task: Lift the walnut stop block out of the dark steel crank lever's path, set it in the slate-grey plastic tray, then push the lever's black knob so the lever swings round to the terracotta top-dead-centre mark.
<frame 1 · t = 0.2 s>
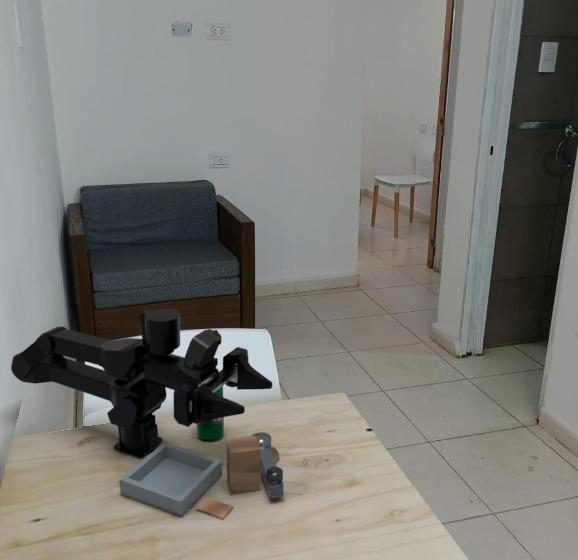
hand: (258, 397, 98), 17 cm above the table, tool horizontal, fingers open, 9 cm apart
stop block: (243, 485, 104), on the table
crank base: (261, 457, 111), on the table
soda can: (210, 435, 118), on the table
crank lever: (267, 461, 105), point 3 cm above the table, hinge at -50.0°
tray: (172, 484, 103), on the table
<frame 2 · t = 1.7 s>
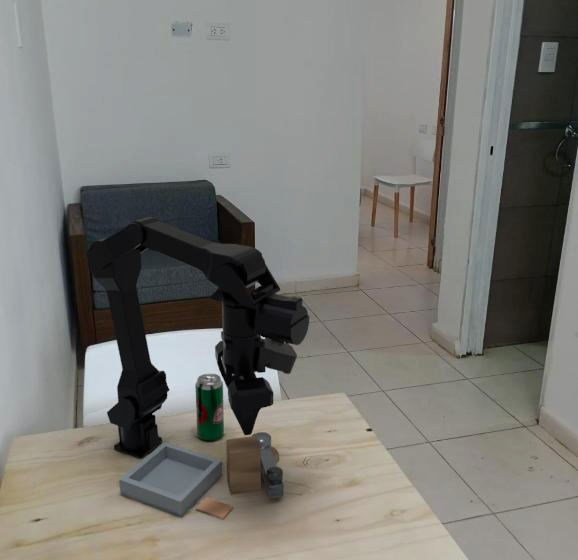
hand: (242, 419, 100), 13 cm above the table, tool pointing down, fingers open, 9 cm apart
nothing on the table moved.
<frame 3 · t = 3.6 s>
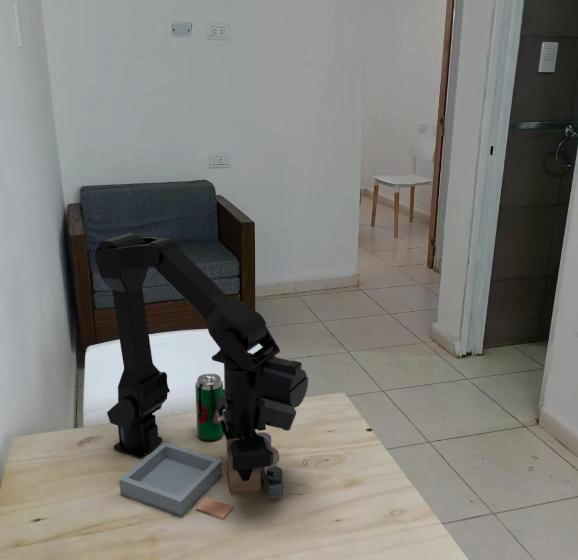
hand: (243, 472, 103), 3 cm above the table, tool pointing down, fingers closed on stop block, 4 cm apart
stop block: (243, 485, 104), on the table, touching gripper
everything else where it was.
when the fingers open (5 cm above the table, at t = 8.0 s): stop block drops 1 cm, resting on tray.
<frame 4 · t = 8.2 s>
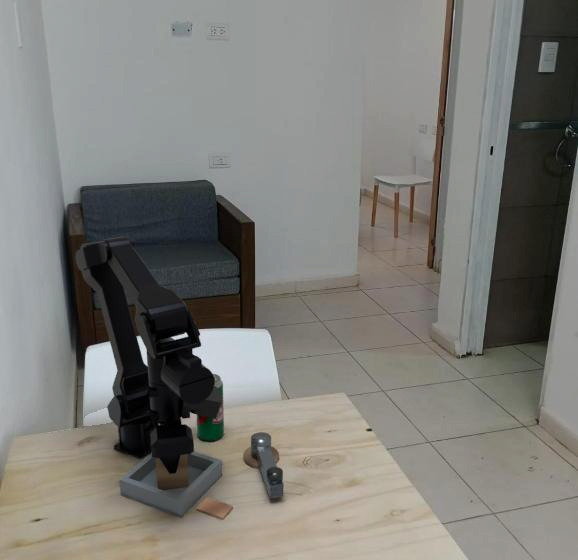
hand: (171, 461, 102), 5 cm above the table, tool pointing down, fingers open, 6 cm apart
stop block: (172, 481, 103), point 1 cm above the table, touching tray
everything else where it was.
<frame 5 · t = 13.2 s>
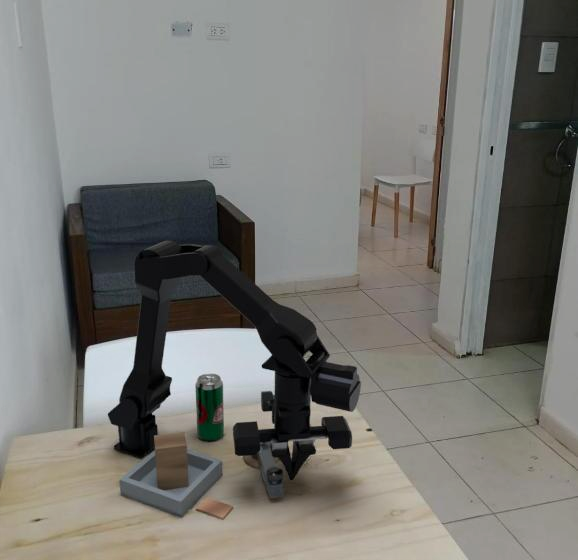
hand: (291, 479, 102), 2 cm above the table, tool pointing down, fingers closed
crank lever: (267, 461, 105), point 3 cm above the table, hinge at -50.1°, touching gripper
everything else where it was.
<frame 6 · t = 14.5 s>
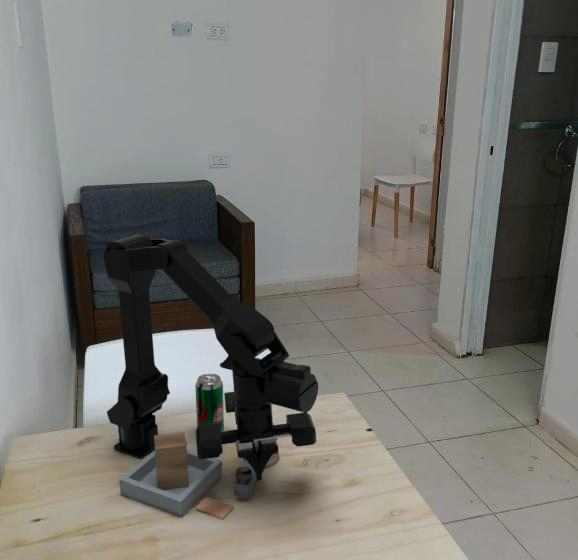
hand: (258, 479, 101), 2 cm above the table, tool pointing down, fingers closed
crank lever: (253, 461, 105), point 3 cm above the table, hinge at -76.4°, touching gripper
everything else where it was.
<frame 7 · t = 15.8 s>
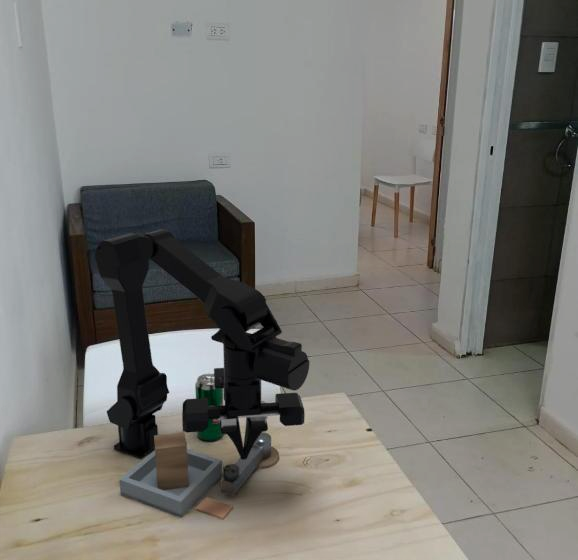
hand: (243, 457, 99), 7 cm above the table, tool pointing down, fingers closed
crank lever: (247, 460, 106), point 3 cm above the table, hinge at -87.7°
everything else where it was.
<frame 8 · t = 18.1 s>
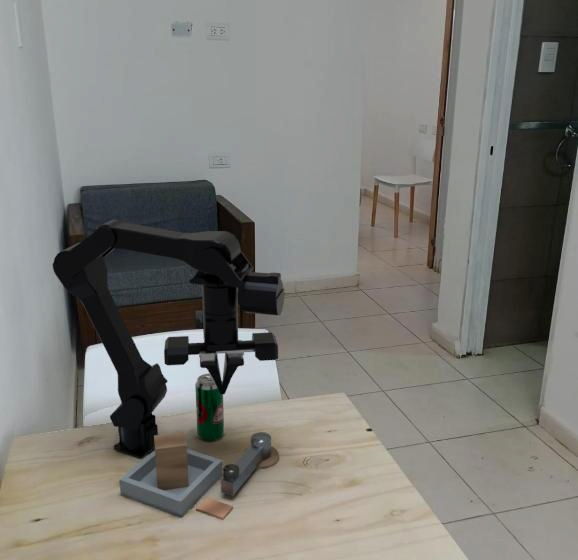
hand: (222, 393, 107), 13 cm above the table, tool pointing down, fingers closed
nothing on the table moved.
at the end: stop block inside the target area on the tray (0.1 cm from its centre), point 0.6 cm above the tray's base; stop block tilted 0°; crank lever at -88° (first picture: -50°) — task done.
